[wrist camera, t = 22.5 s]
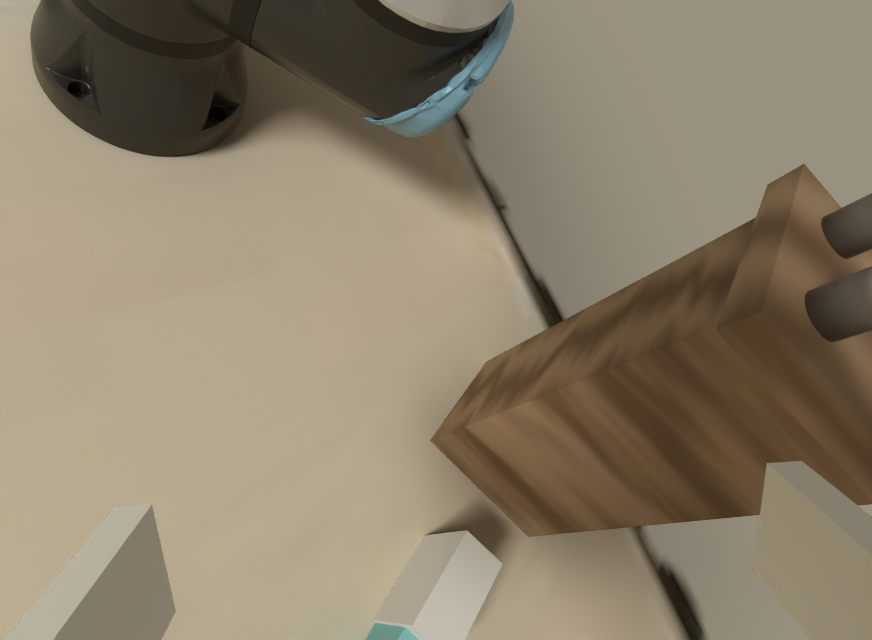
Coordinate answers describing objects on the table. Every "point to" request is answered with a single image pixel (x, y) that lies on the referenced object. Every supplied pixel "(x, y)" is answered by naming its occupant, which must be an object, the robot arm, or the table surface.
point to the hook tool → (438, 590)
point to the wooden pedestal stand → (688, 381)
